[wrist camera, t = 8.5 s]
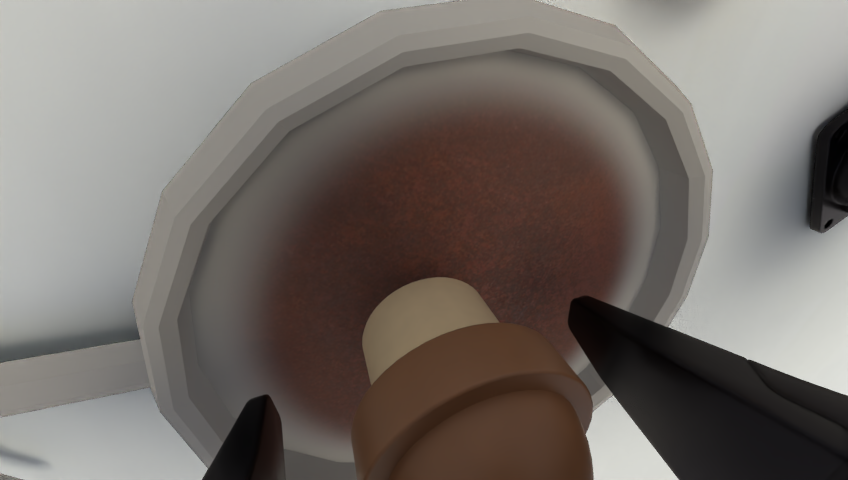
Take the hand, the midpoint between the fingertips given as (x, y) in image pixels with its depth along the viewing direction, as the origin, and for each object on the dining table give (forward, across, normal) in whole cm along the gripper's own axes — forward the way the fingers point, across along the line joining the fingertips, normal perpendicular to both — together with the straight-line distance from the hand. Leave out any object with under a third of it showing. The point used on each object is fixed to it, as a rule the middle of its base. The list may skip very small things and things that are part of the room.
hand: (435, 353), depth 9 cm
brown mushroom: (+1, 0, 0) cm, 1 cm away
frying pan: (+4, +4, 0) cm, 5 cm away
